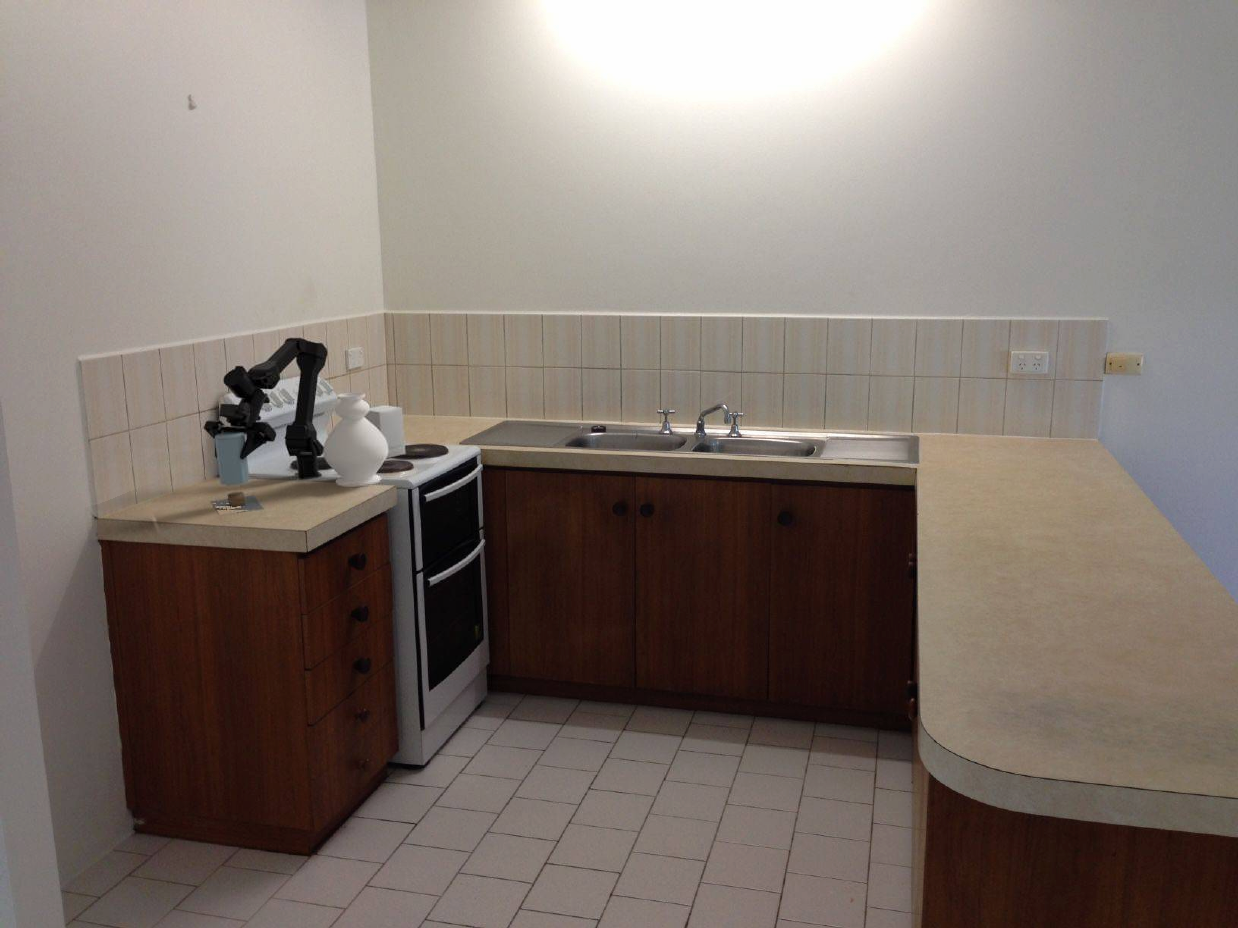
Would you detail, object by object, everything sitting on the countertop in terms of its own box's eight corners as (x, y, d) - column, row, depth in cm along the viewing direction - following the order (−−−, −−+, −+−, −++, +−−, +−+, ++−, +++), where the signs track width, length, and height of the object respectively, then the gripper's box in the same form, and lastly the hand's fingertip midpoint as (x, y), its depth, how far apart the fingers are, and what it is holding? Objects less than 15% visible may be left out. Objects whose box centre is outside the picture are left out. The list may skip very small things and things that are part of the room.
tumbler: (224, 479, 287) (218, 432, 284) (251, 477, 288) (246, 431, 285) (218, 485, 280) (212, 438, 277) (245, 484, 281) (240, 436, 278)
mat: (211, 503, 290) (210, 501, 290) (253, 496, 295) (253, 495, 295) (219, 517, 276) (219, 515, 276) (263, 510, 281) (263, 508, 281)
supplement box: (406, 454, 341) (403, 407, 338) (382, 459, 335) (378, 411, 331) (389, 450, 347) (385, 404, 344) (365, 455, 341) (361, 408, 337)
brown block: (227, 504, 287) (226, 493, 286) (243, 502, 288) (242, 491, 288) (230, 507, 283) (228, 496, 282) (245, 505, 285) (244, 494, 284)
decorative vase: (314, 483, 308) (305, 396, 302) (366, 470, 321) (359, 387, 315) (350, 492, 297) (342, 402, 291) (403, 479, 309) (396, 392, 304)
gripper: (203, 390, 285) (181, 440, 277) (265, 391, 280) (244, 442, 272) (225, 413, 294) (204, 463, 287) (285, 415, 289) (265, 465, 281)
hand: (228, 458), depth 281 cm, fingers closed on tumbler, 7 cm apart
